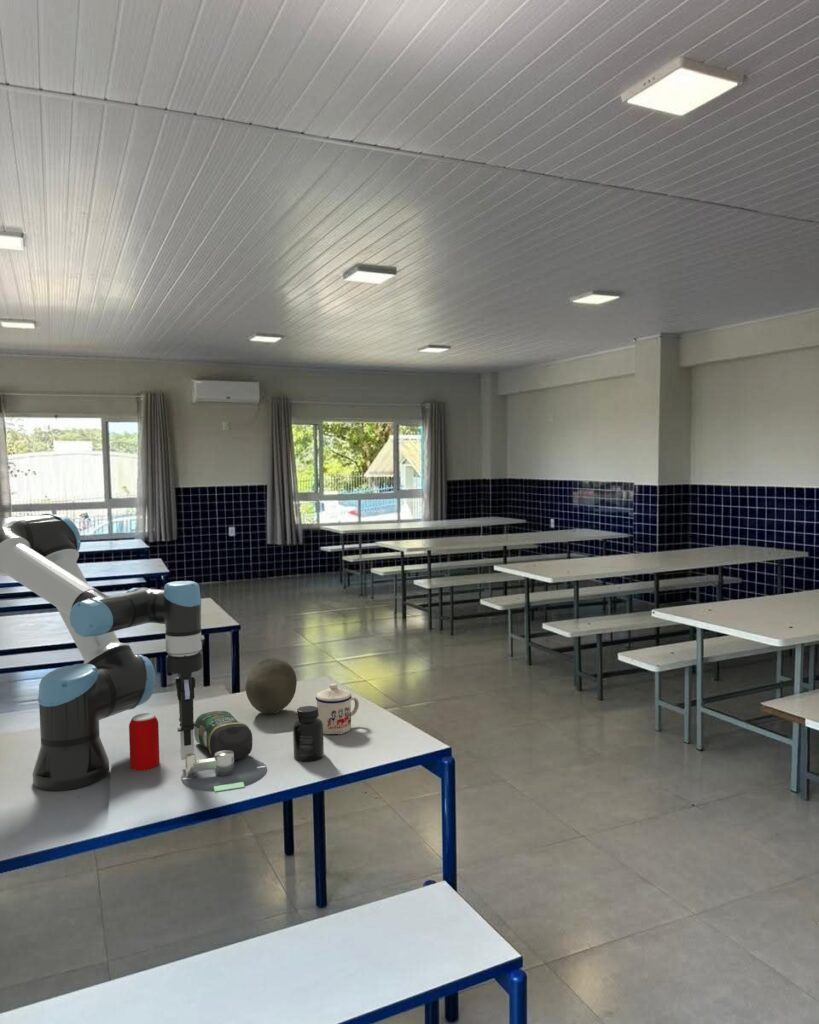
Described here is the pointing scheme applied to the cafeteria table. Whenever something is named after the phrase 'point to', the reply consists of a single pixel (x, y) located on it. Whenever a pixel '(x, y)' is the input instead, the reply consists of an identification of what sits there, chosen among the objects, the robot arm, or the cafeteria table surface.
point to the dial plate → (227, 777)
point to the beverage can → (144, 742)
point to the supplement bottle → (308, 735)
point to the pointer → (211, 764)
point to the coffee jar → (223, 734)
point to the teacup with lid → (335, 709)
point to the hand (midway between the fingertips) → (187, 757)
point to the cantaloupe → (271, 685)
